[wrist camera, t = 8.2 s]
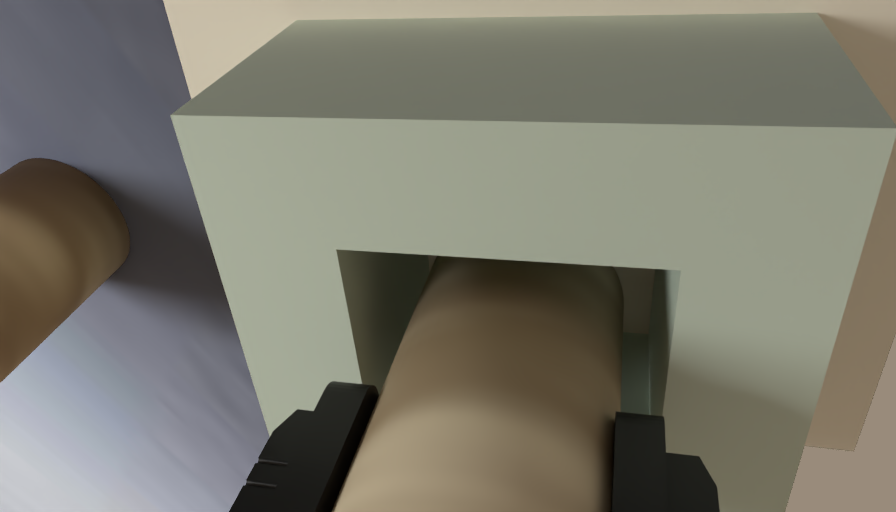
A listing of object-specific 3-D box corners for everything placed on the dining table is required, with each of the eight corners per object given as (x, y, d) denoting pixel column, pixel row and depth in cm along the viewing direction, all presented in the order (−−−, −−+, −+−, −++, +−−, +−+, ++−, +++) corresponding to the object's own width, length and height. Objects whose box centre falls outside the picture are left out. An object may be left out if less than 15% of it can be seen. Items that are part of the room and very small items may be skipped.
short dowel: (-20, 156, 20) (-180, 252, 16) (102, 160, 20) (-38, 263, 16) (36, 270, 23) (-94, 380, 19) (147, 278, 22) (35, 396, 18)
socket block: (179, -38, 16) (-22, 51, 11) (1006, -66, 12) (1241, 45, 8) (287, 365, 22) (191, 530, 18) (845, 422, 19) (914, 647, 14)
